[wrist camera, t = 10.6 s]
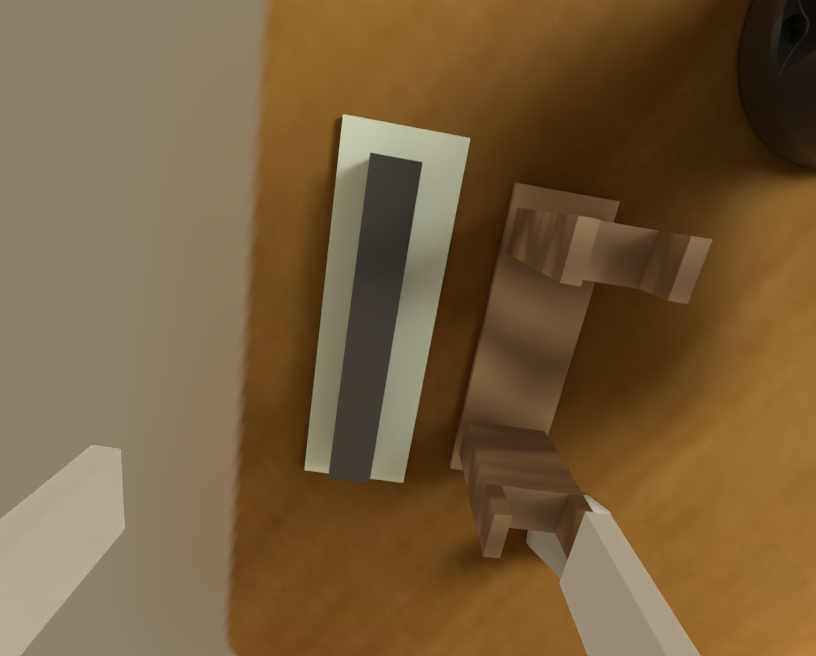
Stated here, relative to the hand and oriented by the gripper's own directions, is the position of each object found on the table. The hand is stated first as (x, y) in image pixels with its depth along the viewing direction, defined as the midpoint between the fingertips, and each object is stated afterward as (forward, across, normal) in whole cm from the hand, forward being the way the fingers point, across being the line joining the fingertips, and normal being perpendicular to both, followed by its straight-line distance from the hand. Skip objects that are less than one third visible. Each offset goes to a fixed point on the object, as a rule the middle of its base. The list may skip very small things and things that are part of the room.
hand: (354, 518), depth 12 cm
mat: (+19, 0, 0) cm, 19 cm away
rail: (+19, -1, 0) cm, 19 cm away
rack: (+20, +10, 0) cm, 22 cm away
